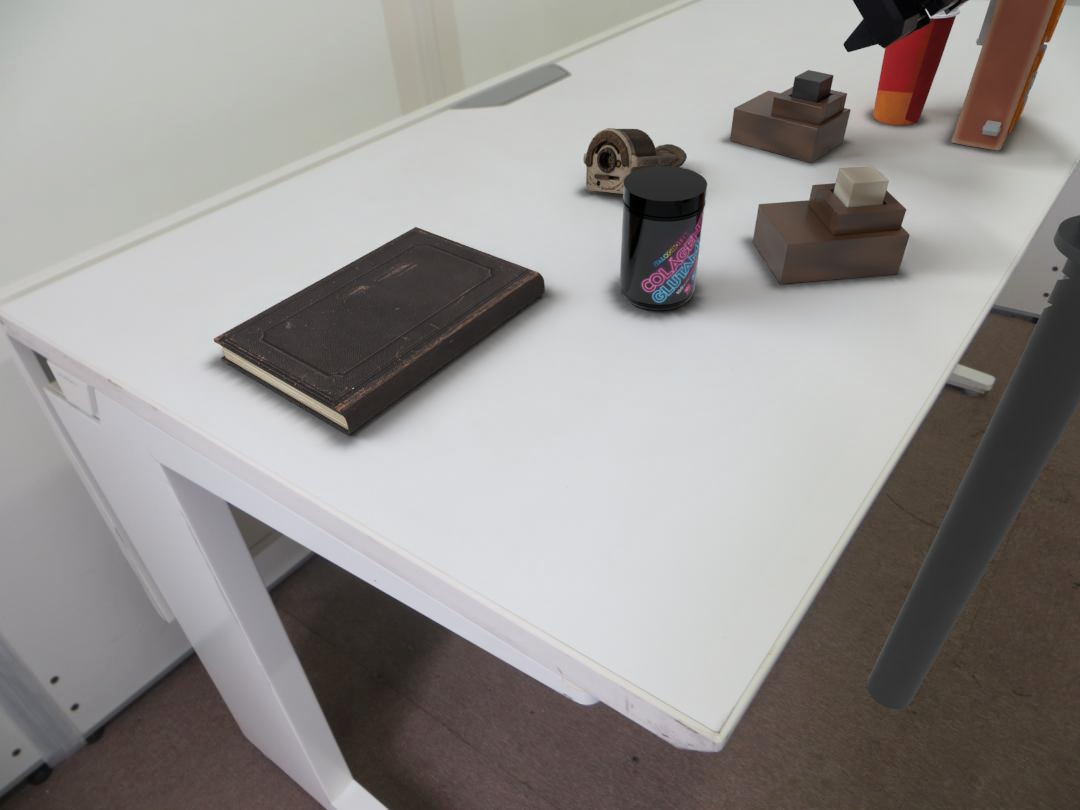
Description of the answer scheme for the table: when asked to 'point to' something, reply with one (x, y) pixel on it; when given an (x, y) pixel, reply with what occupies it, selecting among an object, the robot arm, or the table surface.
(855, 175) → the ivory key
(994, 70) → the control panel
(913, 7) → the robot arm
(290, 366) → the hardcover book
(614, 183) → the mechanical counter
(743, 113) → the push button base
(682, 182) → the supplement container
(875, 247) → the brown push button box
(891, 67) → the paper cup
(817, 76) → the black key
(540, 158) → the table surface
